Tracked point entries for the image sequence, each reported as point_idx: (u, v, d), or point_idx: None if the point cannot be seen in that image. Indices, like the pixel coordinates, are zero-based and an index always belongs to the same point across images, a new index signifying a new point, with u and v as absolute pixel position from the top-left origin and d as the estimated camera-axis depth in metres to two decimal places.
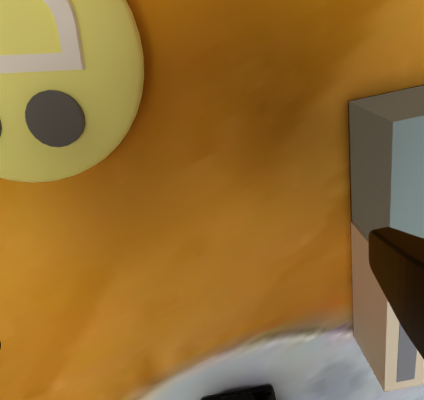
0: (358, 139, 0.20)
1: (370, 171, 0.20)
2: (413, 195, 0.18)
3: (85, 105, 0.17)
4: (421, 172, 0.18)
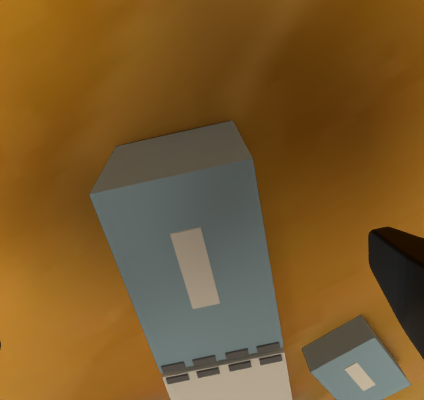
0: None
1: None
2: (163, 290, 0.12)
3: None
4: (163, 261, 0.12)
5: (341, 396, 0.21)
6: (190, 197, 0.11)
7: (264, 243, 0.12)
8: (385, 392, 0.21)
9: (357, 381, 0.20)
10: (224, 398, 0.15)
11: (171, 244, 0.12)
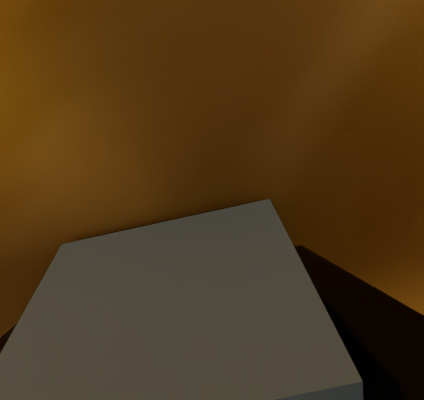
0: None
1: None
2: None
3: None
4: None
5: None
6: None
7: None
8: None
9: None
10: None
11: None
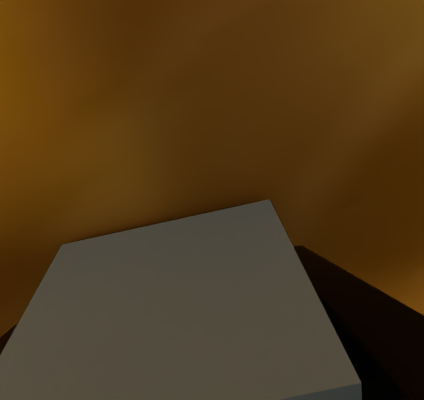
0: None
1: None
2: None
3: None
4: None
5: None
6: None
7: None
8: None
9: None
10: None
11: None
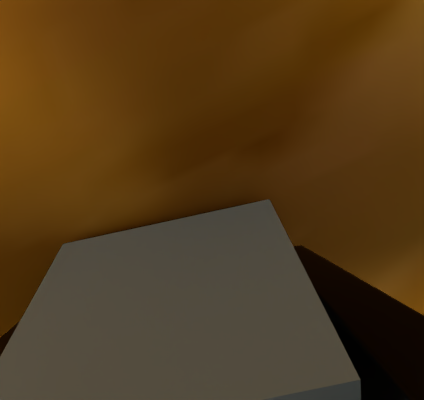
0: None
1: None
2: None
3: None
4: None
5: None
6: None
7: None
8: None
9: None
10: None
11: None
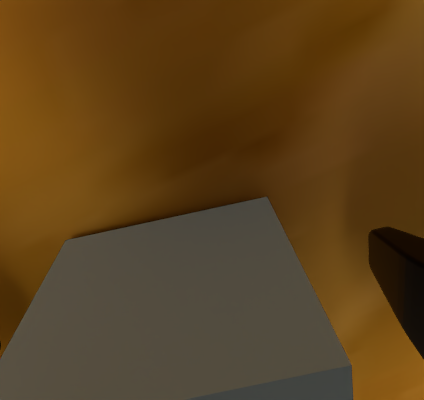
0: None
1: None
2: None
3: None
4: None
5: None
6: None
7: None
8: None
9: None
10: None
11: None
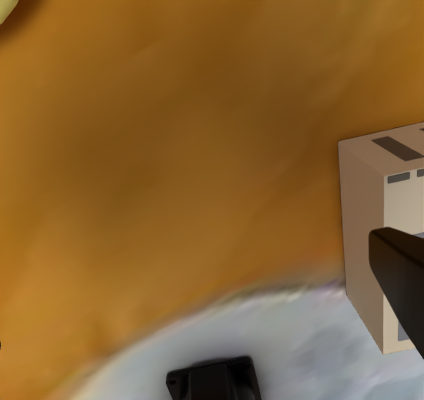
0: None
1: None
2: None
3: None
4: None
5: None
6: None
7: None
8: None
9: None
10: None
11: None
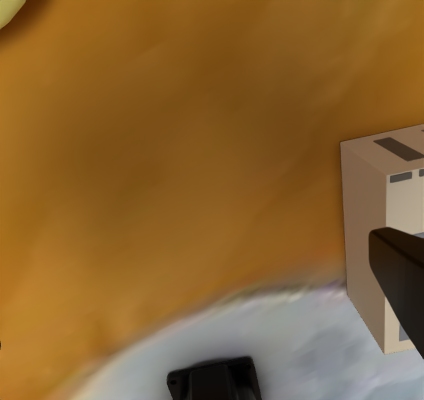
0: None
1: None
2: None
3: None
4: None
5: None
6: None
7: None
8: None
9: None
10: None
11: None
